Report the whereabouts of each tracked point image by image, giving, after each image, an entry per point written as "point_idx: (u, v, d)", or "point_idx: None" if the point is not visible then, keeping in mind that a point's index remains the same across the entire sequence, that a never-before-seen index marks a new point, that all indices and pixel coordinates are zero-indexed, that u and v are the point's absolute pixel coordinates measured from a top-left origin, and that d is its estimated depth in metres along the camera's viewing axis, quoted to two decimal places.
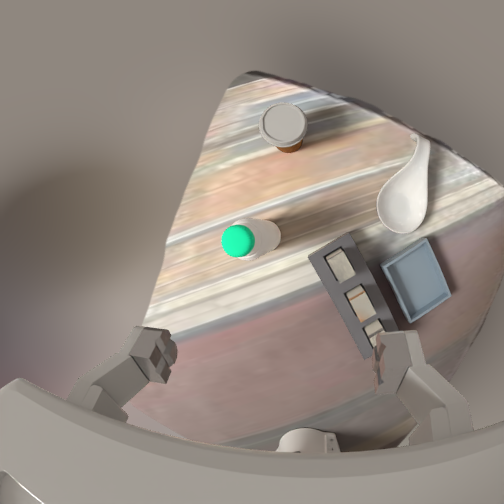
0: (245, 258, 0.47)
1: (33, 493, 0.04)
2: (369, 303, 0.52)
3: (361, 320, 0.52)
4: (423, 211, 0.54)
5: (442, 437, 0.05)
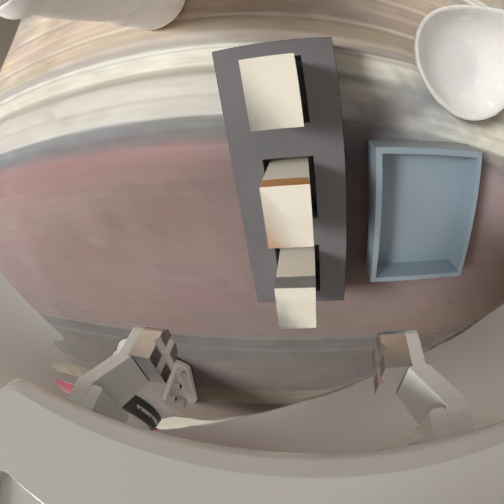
0: (0, 13, 0.06)
1: (33, 493, 0.04)
2: (308, 216, 0.20)
3: (271, 244, 0.22)
4: (499, 104, 0.17)
5: (442, 437, 0.05)
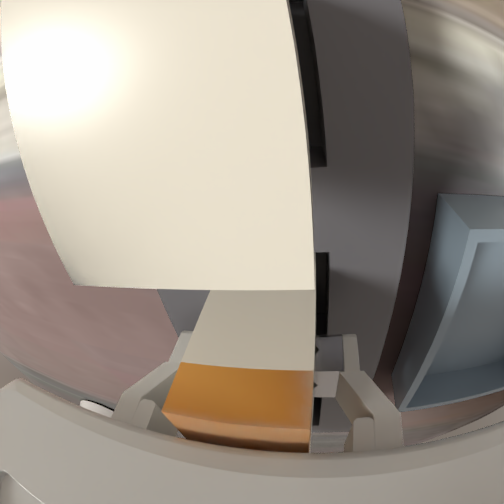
0: None
1: (33, 494, 0.04)
2: None
3: None
4: None
5: (364, 449, 0.06)
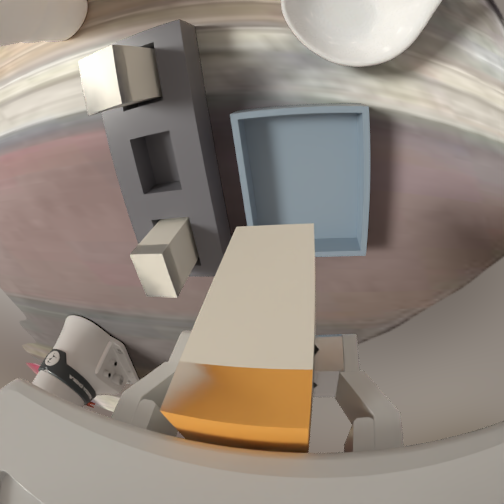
0: None
1: (33, 493, 0.04)
2: None
3: None
4: (396, 47, 0.17)
5: (364, 449, 0.06)
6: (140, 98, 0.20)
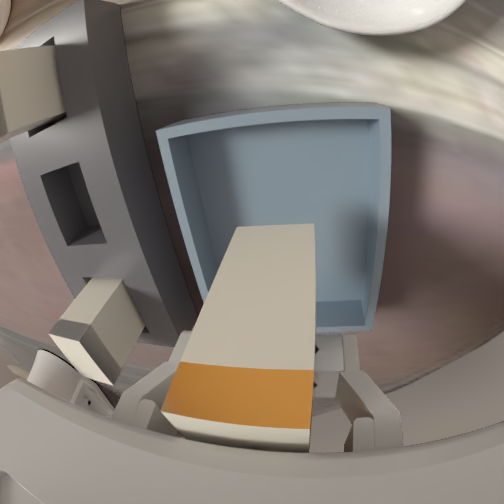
0: None
1: (33, 493, 0.04)
2: None
3: None
4: (434, 9, 0.08)
5: (364, 449, 0.06)
6: (24, 124, 0.11)
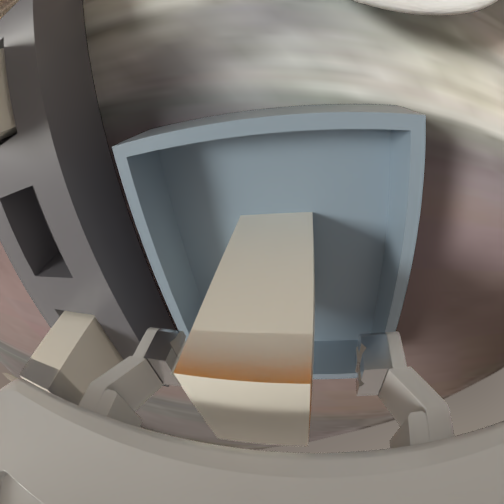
0: None
1: (33, 493, 0.04)
2: (299, 422, 0.08)
3: (223, 437, 0.09)
4: None
5: (420, 442, 0.05)
6: None
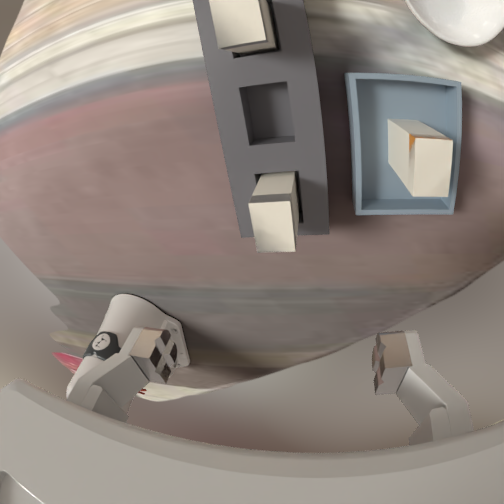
0: None
1: (33, 493, 0.04)
2: (448, 168, 0.19)
3: (416, 193, 0.21)
4: (484, 36, 0.14)
5: (442, 437, 0.05)
6: (270, 42, 0.18)
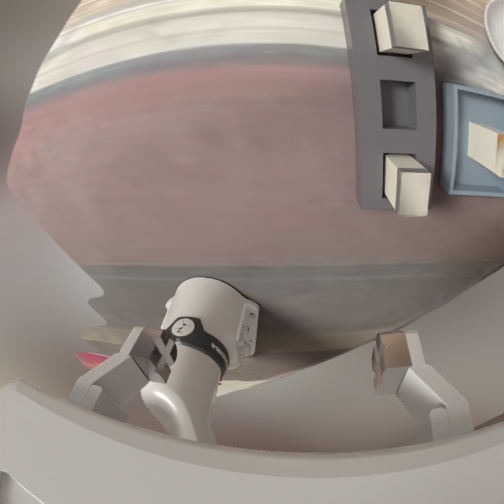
0: None
1: (33, 493, 0.04)
2: None
3: (502, 175, 0.23)
4: None
5: (442, 437, 0.05)
6: (418, 51, 0.20)
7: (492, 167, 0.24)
